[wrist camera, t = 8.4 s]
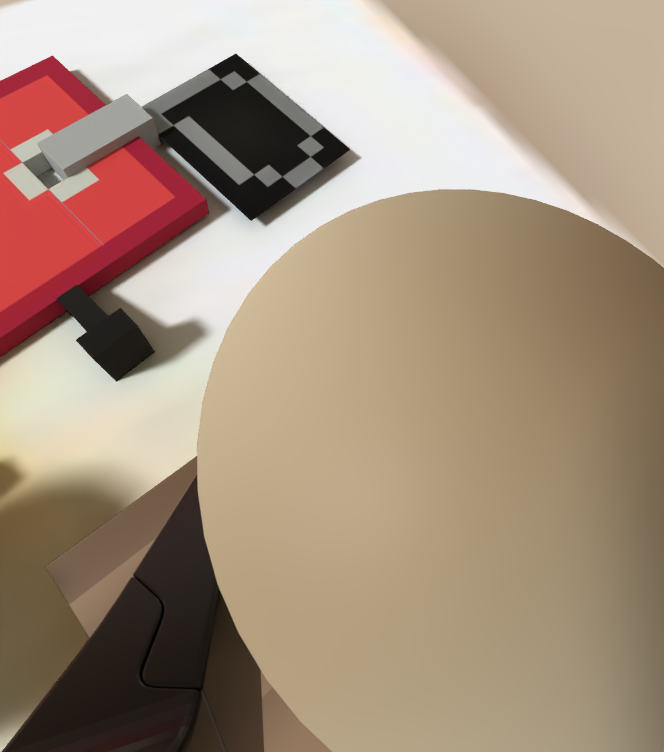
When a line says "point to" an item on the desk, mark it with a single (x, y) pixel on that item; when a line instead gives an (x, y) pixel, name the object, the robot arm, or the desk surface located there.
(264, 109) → the red board with handle
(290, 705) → the birch dowel
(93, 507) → the desk surface
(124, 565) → the walnut board
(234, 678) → the robot arm
